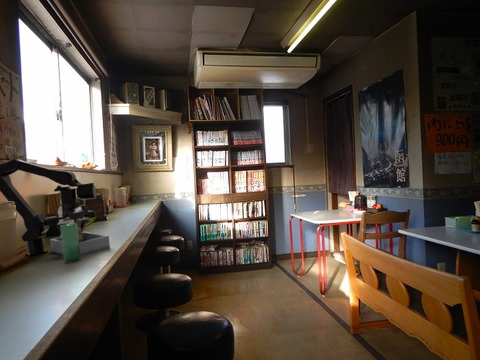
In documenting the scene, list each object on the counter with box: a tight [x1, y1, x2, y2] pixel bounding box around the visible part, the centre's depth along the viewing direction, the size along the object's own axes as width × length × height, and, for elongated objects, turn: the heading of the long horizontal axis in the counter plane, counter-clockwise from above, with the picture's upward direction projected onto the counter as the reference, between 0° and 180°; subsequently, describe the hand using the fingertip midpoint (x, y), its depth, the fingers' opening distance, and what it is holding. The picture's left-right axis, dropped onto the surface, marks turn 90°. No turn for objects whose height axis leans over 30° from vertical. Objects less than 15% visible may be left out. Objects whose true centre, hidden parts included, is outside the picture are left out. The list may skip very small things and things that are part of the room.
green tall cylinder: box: [60, 222, 81, 264], centre depth 102 cm, size 5×5×13 cm
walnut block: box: [77, 227, 82, 240], centre depth 122 cm, size 5×5×5 cm
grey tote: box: [49, 231, 111, 257], centre depth 119 cm, size 22×14×5 cm, turn 50°
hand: (73, 237), depth 122 cm, fingers closed on walnut block, 5 cm apart
